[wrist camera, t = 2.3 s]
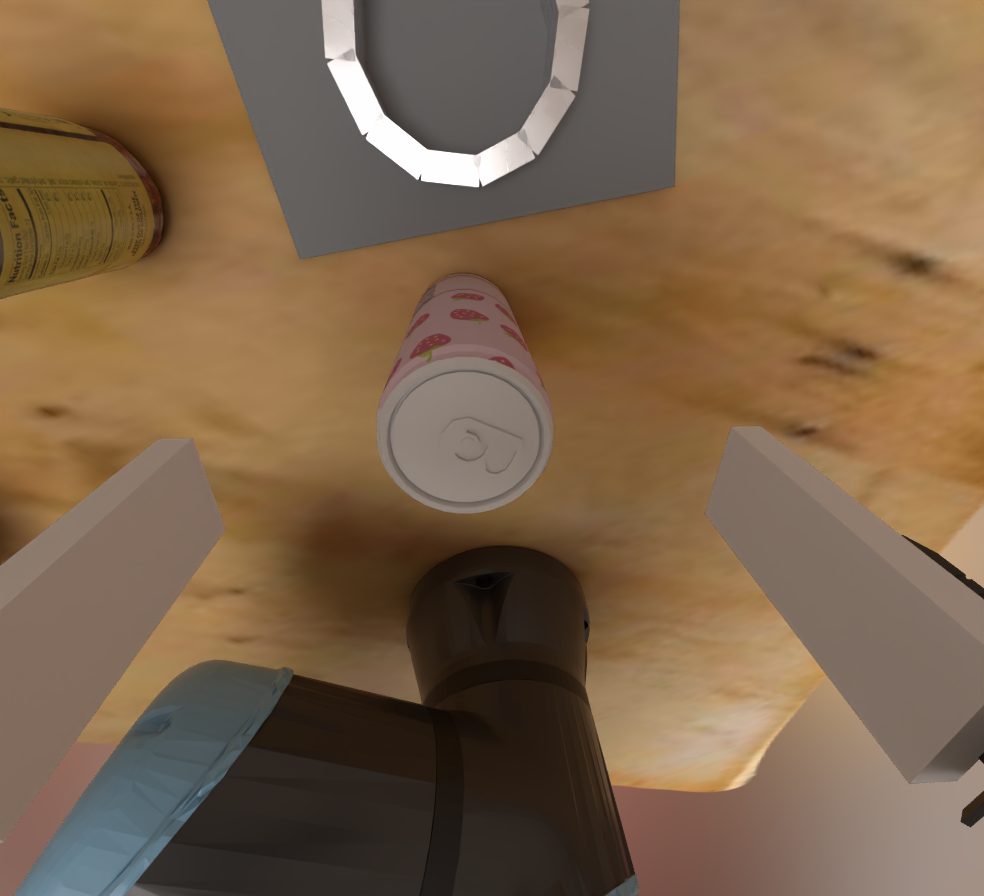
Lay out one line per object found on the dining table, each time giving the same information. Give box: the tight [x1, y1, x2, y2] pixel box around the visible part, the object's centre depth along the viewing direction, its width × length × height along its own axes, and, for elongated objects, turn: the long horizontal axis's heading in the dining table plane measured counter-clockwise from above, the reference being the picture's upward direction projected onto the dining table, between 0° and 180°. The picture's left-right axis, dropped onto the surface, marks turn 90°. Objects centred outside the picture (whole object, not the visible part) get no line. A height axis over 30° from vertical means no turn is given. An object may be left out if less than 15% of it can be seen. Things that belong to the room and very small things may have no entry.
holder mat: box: [207, 0, 680, 259], centre depth 20 cm, size 20×14×1 cm
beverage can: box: [377, 273, 553, 514], centre depth 20 cm, size 6×6×15 cm
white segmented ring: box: [321, 0, 589, 188], centre depth 19 cm, size 10×10×2 cm
